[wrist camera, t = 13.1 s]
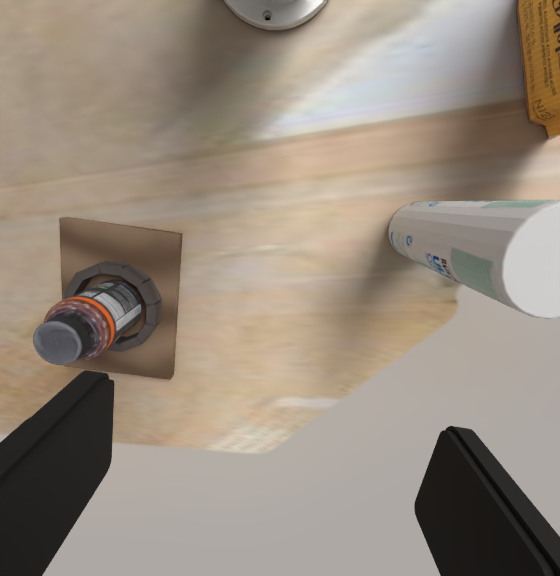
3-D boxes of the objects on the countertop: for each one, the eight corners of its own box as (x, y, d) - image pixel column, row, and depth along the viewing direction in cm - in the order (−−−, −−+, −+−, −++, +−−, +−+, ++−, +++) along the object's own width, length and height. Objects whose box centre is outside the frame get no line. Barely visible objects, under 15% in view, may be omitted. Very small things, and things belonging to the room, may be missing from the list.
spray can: (375, 240, 37) (476, 284, 18) (408, 188, 36) (558, 175, 16) (421, 268, 38) (566, 339, 19) (456, 219, 36) (652, 240, 17)
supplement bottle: (111, 334, 39) (45, 386, 28) (84, 290, 38) (3, 327, 27) (155, 315, 38) (105, 361, 27) (129, 269, 37) (65, 298, 26)
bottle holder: (66, 217, 37) (46, 218, 34) (182, 233, 37) (173, 236, 34) (70, 361, 41) (53, 374, 38) (173, 374, 42) (165, 388, 39)
